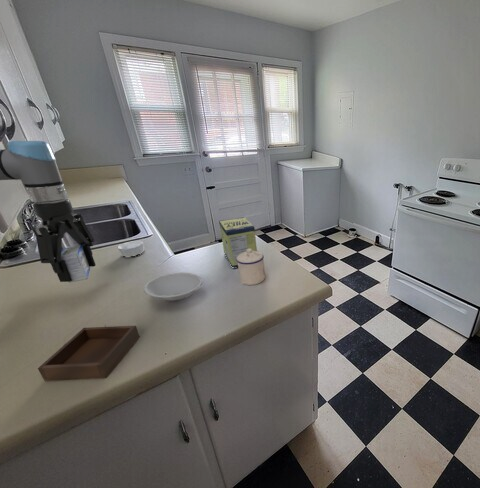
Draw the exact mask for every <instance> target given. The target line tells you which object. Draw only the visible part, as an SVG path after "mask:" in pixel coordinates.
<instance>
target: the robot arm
mask: <svg viewBox="0 0 480 488" xmlns="http://www.w3.org/2000/svg"><path fill="white" fill-rule="evenodd" d="M13 180H14V181H20V180H21V182H22V183H23V186H24V188H25V190H26V193H27V195H28V198H29V200H30V202H32V203H33V204H32V207H33V209H34V212H35V214H36V216H37V217H38V218H40V219H41V225H40V226H37V227H35V226H34V227H33V228H32V229H31V230H32V232H33V234H34V236H35V239H36V245H37V251H38V255H39V259H40V263H41V264H50V265H51V268H52V270H53V272H54V274H56V275H57V278H58V280H59V282H60V283H69V282H70V281H72V279H71V276H70V274H69V271H68V269H67V266H66V264H65V261H64V260H61V252H62V245H63V243H62V241H63V238H64V237H65V234H66V233H67V234H68V235H69V236H70V237H71V238H72V239H73V241H75V242H76V243H77V245H81V246H82V248H83V251H84V253H85V256H86V259H87V261H88V264H89V267H90V268H91V267H92V268H93V267H95V266H97V265H96V261H95V259H94V256H93V250H92V249H91V247H93V246H94V242H95V238H94V237H93V235H92V233H91V231H90V230H89V228H88V226H87V224H86V222H85V221H84V216H83V213H74V208H73V206H72V202H71V200H69V199H68V198H69V195H68V192H67V190H66V187H65V185H64V180H63V179H62V175H61V173H60V169H59V167H58V165H57V158H56V156H55V155H54V153H53V150H52V148H51V145H49V143H48V142H47V141H44V140H10V141H7V148H4V149H0V181H13ZM70 283H71V282H70Z"/></svg>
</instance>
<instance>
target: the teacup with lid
mask: <svg viewBox="0 0 480 488" xmlns="http://www.w3.org/2000/svg"><path fill="white" fill-rule="evenodd" d="M236 260H237V262H238V268H237V270H238V275H239V282H240V283H241V284H243V285H246V286H255V285H258V284H260V283H262V282H263V281H265V278H266V274H265V272H266V271H265V263H264V254H263V253H262V252H261V251H258V250H257V251H252V249H247V250H246V252H243V253H241V254H239V255H238V256H237V259H236Z"/></svg>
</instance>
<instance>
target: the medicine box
mask: <svg viewBox="0 0 480 488" xmlns="http://www.w3.org/2000/svg"><path fill="white" fill-rule="evenodd" d="M61 260H64V261H65V264H66V266H67V269H68V271H69V274H70V276H71V279H72V281H70V282H68V283H76V282H80V281H84V280H88V278H89V274H90V270H91V267H89V264H88V261H87V259H86V256H85V253H84V251H83V248H82V246H81V245H79V244H77V245H71V246H66V247H63V248H62V249H61Z"/></svg>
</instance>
